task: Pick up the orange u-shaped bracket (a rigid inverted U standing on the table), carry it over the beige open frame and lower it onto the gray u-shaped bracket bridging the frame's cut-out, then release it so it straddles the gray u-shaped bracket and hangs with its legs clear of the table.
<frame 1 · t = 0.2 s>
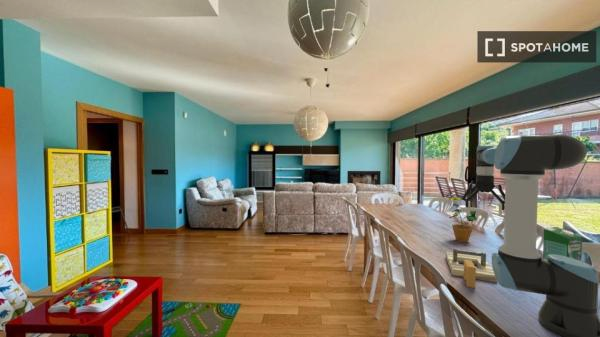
hand: (484, 214, 133), 28 cm above the table, fingers open, 13 cm apart
milk carton: (560, 284, 114), on the table
orange u-shaped bracket: (469, 282, 115), on the table
potted plant: (461, 241, 177), on the table
gray u-shaped bracket: (468, 259, 131), in the beige open frame
beige open frame: (468, 268, 131), on the table
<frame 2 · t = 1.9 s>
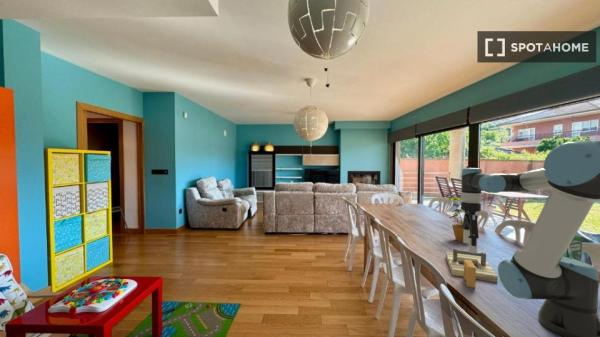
hand: (469, 247, 115), 16 cm above the table, fingers open, 13 cm apart
nothing on the table moved.
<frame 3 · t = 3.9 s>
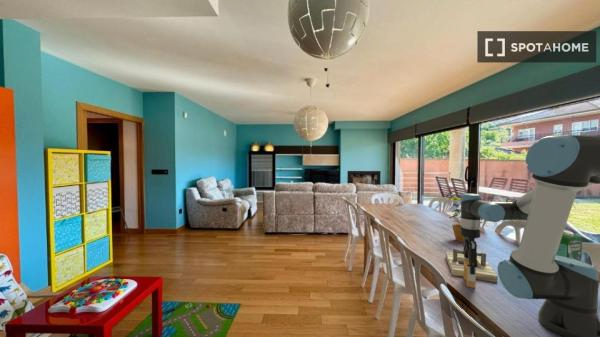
hand: (469, 276, 115), 3 cm above the table, fingers closed on orange u-shaped bracket, 9 cm apart
orange u-shaped bracket: (469, 282, 115), on the table, touching gripper
everything else where it was.
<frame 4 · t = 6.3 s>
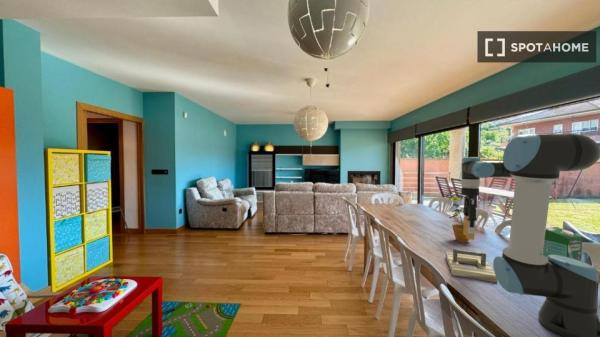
hand: (468, 230, 129), 20 cm above the table, fingers closed on orange u-shaped bracket, 9 cm apart
orange u-shaped bracket: (468, 236, 129), point 17 cm above the table, touching gripper
everything else where it was.
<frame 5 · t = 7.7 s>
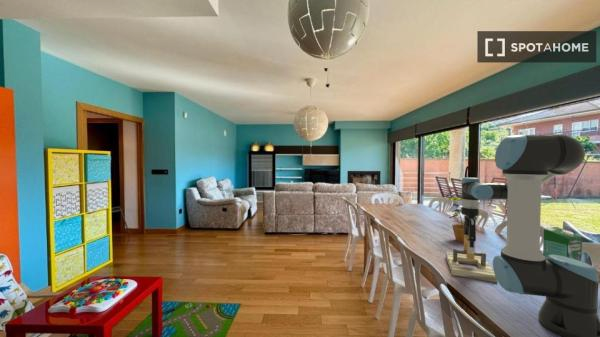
hand: (469, 250, 131), 10 cm above the table, fingers closed on orange u-shaped bracket, 9 cm apart
orange u-shaped bracket: (468, 256, 131), point 7 cm above the table, touching gripper
everything else where it was.
when the fingers open (7 cm above the table, at t = 8.9 s): orange u-shaped bracket stays where it is, resting on gray u-shaped bracket.
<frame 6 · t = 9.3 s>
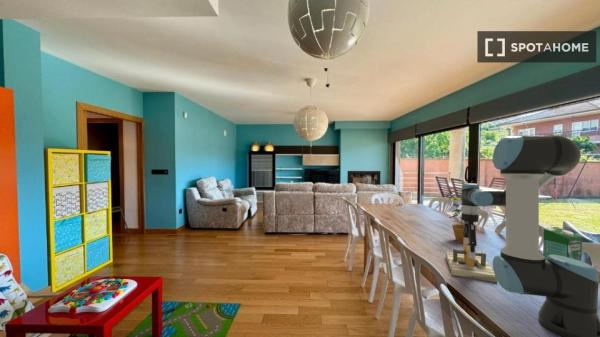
hand: (469, 253, 131), 8 cm above the table, fingers open, 13 cm apart
orange u-shaped bracket: (468, 263, 131), point 2 cm above the table, touching gray u-shaped bracket
everything else where it was.
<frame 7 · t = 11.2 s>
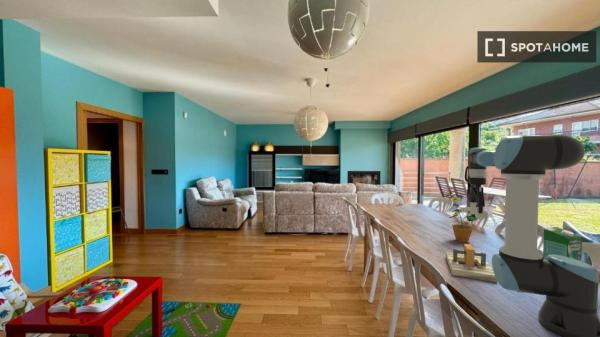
hand: (476, 216, 134), 26 cm above the table, fingers open, 13 cm apart
nothing on the table moved.
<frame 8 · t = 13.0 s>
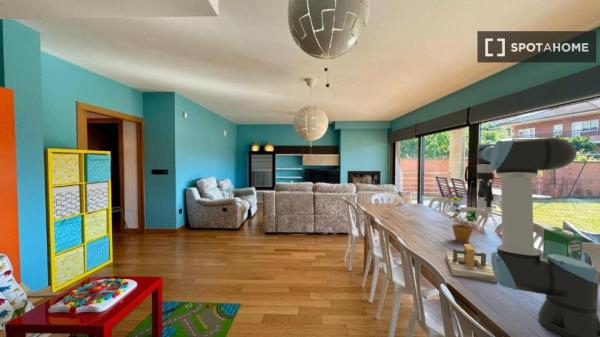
hand: (484, 210, 138), 29 cm above the table, fingers open, 13 cm apart
nothing on the table moved.
at the end: orange u-shaped bracket 0.0 cm off-centre on the beige open frame, point 2.4 cm above the beige open frame's base; orange u-shaped bracket tilted 0°; orange u-shaped bracket touching gray u-shaped bracket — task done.
